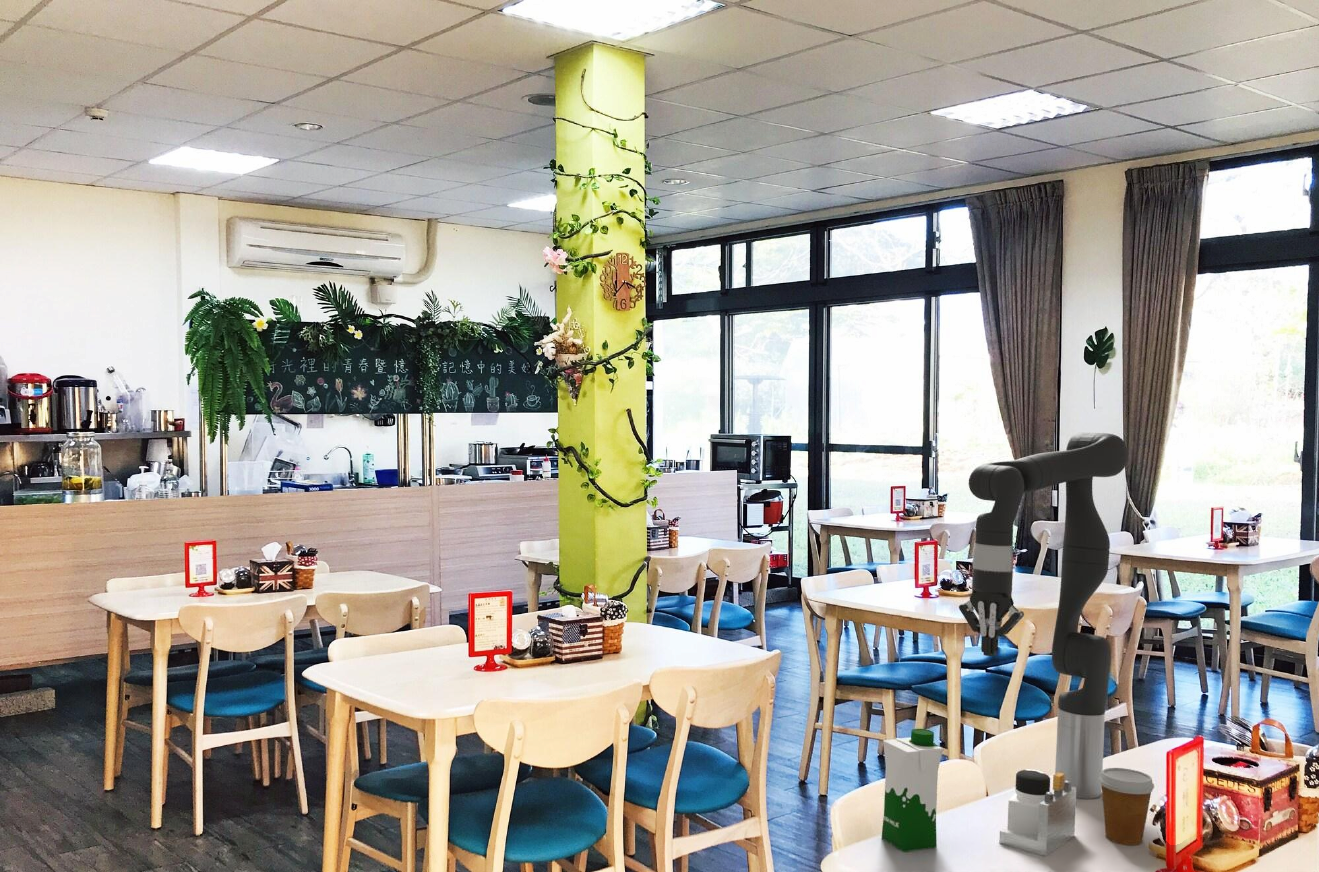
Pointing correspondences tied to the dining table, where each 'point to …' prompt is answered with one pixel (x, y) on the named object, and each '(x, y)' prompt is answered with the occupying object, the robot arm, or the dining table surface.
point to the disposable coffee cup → (1125, 804)
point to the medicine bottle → (1027, 802)
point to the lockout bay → (1049, 821)
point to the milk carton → (911, 791)
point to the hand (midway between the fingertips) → (989, 655)
